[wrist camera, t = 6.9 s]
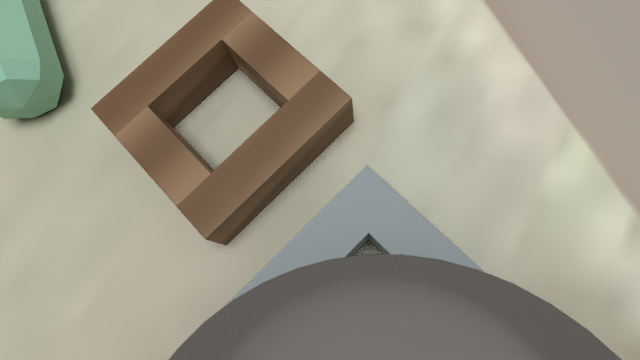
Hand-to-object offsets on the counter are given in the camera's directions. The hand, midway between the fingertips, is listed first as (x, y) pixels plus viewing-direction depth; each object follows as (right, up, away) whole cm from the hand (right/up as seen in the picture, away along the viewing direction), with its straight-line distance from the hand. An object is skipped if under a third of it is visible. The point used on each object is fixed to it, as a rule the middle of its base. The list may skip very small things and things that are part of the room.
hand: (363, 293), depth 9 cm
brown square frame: (-6, +6, +15) cm, 17 cm away
